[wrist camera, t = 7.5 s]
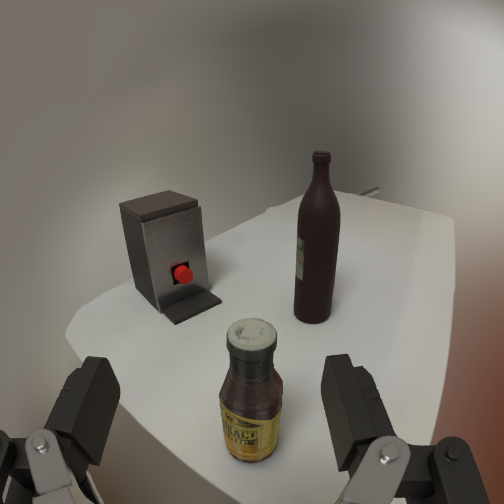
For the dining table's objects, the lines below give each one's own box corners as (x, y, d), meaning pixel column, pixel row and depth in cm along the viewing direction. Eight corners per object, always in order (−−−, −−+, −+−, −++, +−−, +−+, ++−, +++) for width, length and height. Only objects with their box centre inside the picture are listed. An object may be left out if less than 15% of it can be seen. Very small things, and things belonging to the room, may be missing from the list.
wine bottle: (309, 298, 62) (317, 148, 49) (337, 313, 58) (352, 153, 45) (285, 313, 58) (289, 151, 45) (313, 329, 53) (326, 156, 40)
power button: (194, 281, 60) (192, 266, 58) (180, 286, 58) (177, 272, 56) (188, 277, 61) (186, 263, 59) (175, 282, 59) (172, 268, 58)
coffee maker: (223, 301, 62) (215, 205, 54) (172, 326, 55) (154, 223, 46) (179, 270, 75) (169, 190, 66) (135, 287, 67) (118, 203, 59)
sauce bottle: (216, 445, 33) (190, 330, 24) (250, 418, 37) (244, 298, 28) (254, 476, 29) (248, 370, 20) (288, 444, 33) (302, 327, 24)
